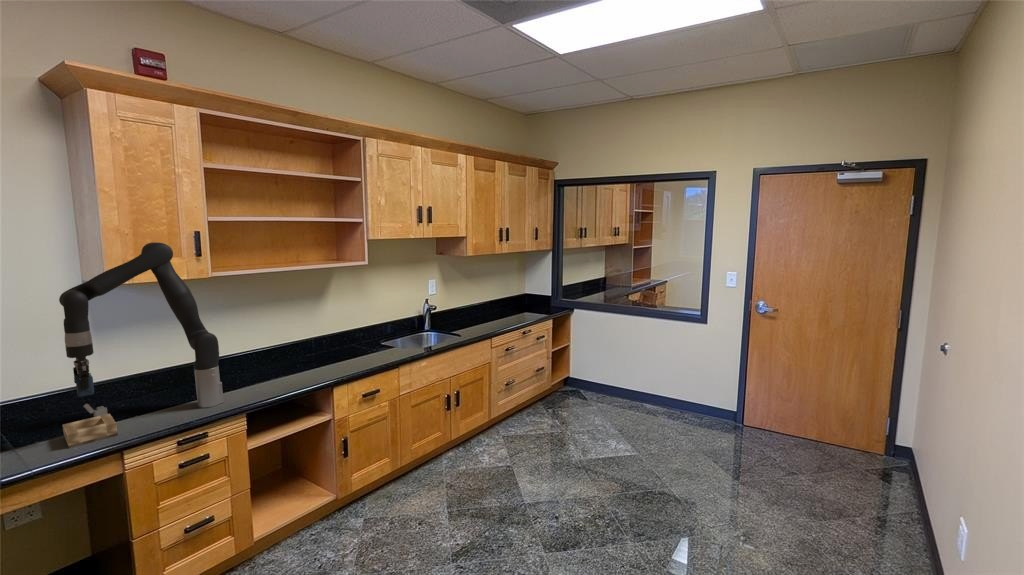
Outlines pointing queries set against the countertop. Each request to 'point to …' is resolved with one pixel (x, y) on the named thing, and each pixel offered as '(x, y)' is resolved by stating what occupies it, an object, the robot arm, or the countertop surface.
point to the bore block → (89, 430)
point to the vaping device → (78, 385)
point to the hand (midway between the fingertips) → (84, 387)
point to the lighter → (98, 412)
